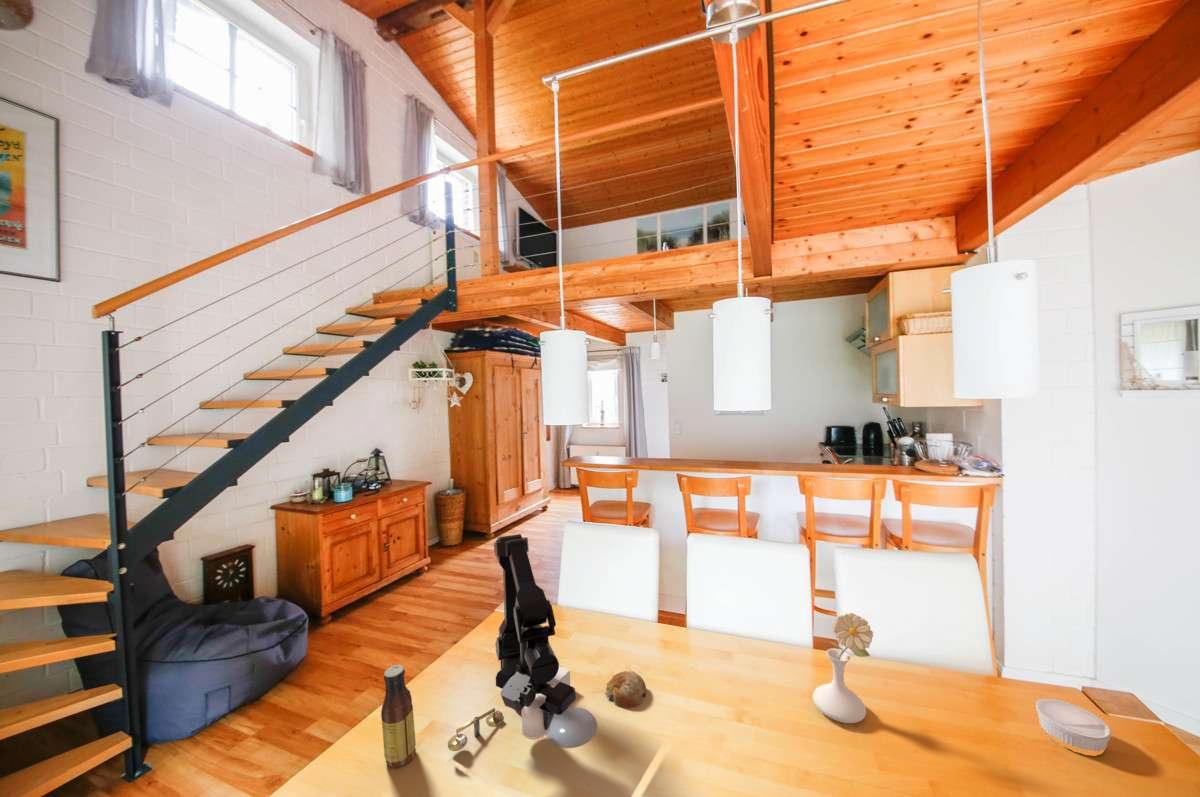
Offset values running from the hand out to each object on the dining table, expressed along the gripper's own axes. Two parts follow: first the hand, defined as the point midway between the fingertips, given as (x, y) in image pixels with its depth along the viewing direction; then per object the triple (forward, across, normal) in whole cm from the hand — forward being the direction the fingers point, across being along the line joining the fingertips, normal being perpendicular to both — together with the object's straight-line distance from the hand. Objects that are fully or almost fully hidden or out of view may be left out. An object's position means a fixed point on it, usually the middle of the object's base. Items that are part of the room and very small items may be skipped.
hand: (535, 723), depth 97 cm
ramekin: (+6, +101, +60) cm, 118 cm away
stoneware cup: (+1, 0, 0) cm, 1 cm away
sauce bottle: (+6, -24, -17) cm, 30 cm away
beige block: (+6, -6, +16) cm, 17 cm away
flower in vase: (+6, +58, +45) cm, 73 cm away
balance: (+5, -13, -5) cm, 15 cm away
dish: (+5, +4, +8) cm, 10 cm away
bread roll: (+6, +10, +23) cm, 26 cm away
